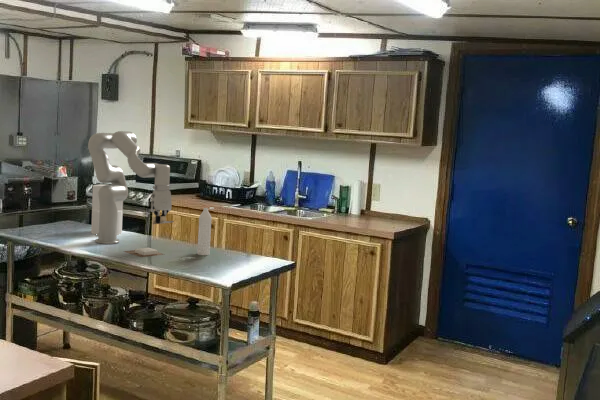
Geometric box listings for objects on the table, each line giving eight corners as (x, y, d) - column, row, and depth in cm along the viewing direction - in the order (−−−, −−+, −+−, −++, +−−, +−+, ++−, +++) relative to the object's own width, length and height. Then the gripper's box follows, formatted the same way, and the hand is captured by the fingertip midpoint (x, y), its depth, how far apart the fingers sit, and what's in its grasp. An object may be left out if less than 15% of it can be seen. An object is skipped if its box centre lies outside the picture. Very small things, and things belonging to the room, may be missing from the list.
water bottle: (203, 256, 327) (205, 209, 325) (194, 254, 331) (197, 207, 329) (215, 254, 334) (217, 208, 332) (206, 252, 338) (209, 206, 335)
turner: (150, 224, 333) (149, 217, 333) (159, 223, 337) (158, 217, 337) (165, 222, 324) (164, 215, 324) (173, 222, 328) (173, 215, 328)
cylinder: (91, 230, 379) (92, 183, 376) (121, 230, 385) (123, 185, 382) (91, 235, 363) (92, 187, 360) (122, 235, 368) (124, 188, 365)
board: (123, 254, 320) (123, 251, 320) (146, 251, 330) (146, 248, 330) (141, 260, 309) (141, 257, 309) (164, 257, 320) (164, 254, 320)
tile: (135, 249, 318) (144, 251, 313) (148, 247, 324) (157, 250, 318) (134, 252, 318) (144, 255, 313) (148, 251, 324) (157, 254, 319)
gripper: (153, 189, 321) (151, 225, 323) (178, 188, 333) (177, 223, 335) (144, 187, 326) (143, 222, 328) (170, 187, 338) (168, 221, 340)
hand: (160, 222), depth 331 cm, fingers closed on turner, 2 cm apart
